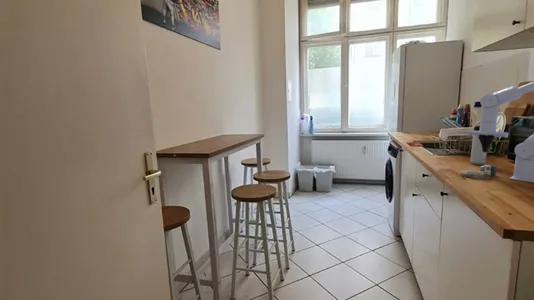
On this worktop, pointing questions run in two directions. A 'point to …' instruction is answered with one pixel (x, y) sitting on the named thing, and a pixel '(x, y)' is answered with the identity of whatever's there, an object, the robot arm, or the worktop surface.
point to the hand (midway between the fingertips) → (484, 151)
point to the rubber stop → (493, 170)
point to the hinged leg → (485, 167)
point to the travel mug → (477, 150)
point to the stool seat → (476, 174)
